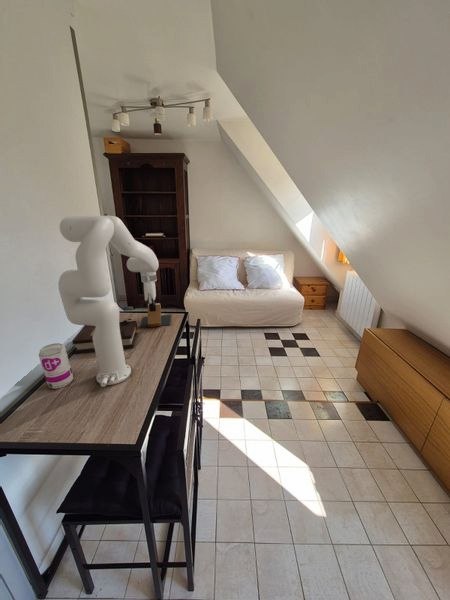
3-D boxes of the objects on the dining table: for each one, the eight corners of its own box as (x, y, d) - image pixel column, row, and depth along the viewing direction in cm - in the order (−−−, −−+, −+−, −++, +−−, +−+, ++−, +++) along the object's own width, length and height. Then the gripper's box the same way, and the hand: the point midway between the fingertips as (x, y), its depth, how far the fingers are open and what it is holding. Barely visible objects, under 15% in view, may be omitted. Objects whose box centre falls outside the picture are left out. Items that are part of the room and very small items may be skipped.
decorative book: (80, 322, 127) (141, 317, 132) (83, 336, 130) (142, 330, 135) (64, 341, 109) (135, 334, 114) (68, 356, 112) (137, 348, 117)
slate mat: (169, 325, 141) (169, 324, 140) (140, 327, 138) (140, 326, 138) (170, 315, 154) (170, 314, 153) (143, 317, 151) (143, 316, 151)
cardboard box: (160, 323, 135) (159, 303, 140) (147, 324, 134) (147, 304, 139) (161, 326, 139) (160, 307, 145) (149, 327, 138) (149, 307, 144)
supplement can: (68, 388, 92) (58, 353, 86) (43, 391, 90) (32, 355, 85) (77, 374, 99) (68, 341, 94) (54, 377, 98) (44, 343, 93)
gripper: (143, 274, 134) (147, 306, 141) (139, 282, 120) (143, 317, 127) (157, 274, 135) (161, 305, 142) (155, 281, 122) (158, 315, 128)
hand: (152, 310), depth 134 cm, fingers closed
